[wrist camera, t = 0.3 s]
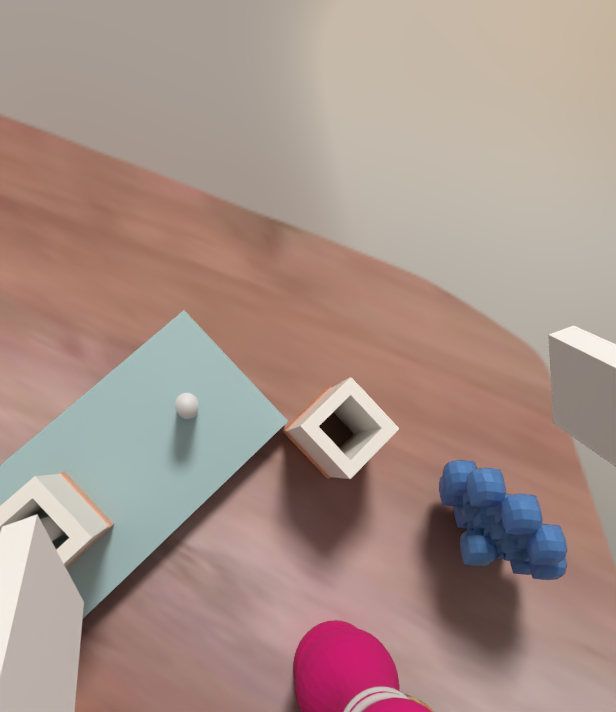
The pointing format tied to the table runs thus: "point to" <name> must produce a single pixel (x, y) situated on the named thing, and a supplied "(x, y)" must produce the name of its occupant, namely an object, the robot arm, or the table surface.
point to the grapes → (501, 523)
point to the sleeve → (356, 415)
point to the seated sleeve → (59, 511)
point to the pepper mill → (347, 673)
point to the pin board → (147, 448)
